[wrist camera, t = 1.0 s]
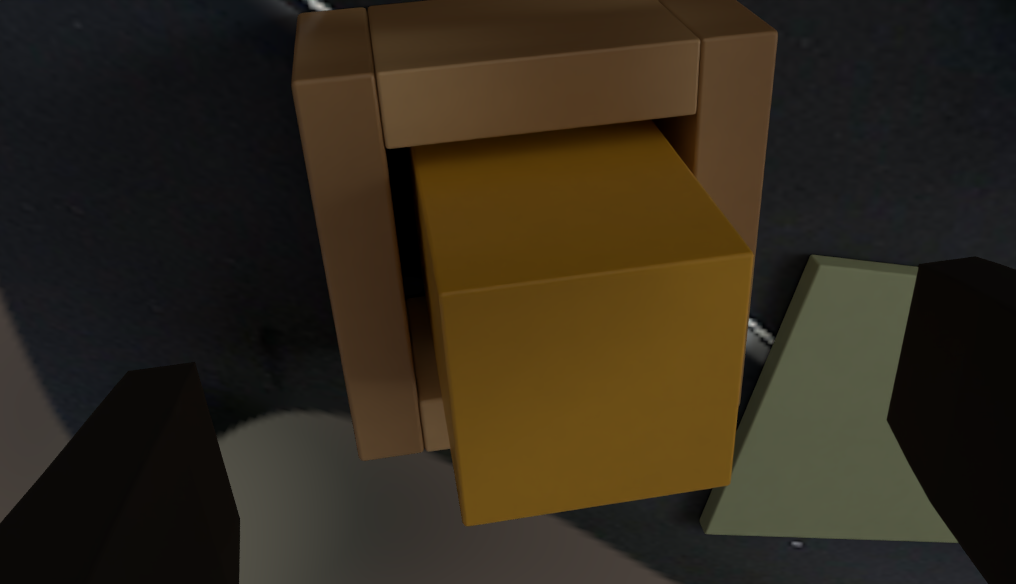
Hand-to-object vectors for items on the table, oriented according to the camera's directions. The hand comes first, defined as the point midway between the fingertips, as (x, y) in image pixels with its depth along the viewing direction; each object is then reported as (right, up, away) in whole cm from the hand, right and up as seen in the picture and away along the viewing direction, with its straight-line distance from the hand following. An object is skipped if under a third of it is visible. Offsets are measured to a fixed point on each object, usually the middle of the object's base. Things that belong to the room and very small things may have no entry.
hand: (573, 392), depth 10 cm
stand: (-1, +3, +9) cm, 10 cm away
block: (-1, +3, +9) cm, 10 cm away
